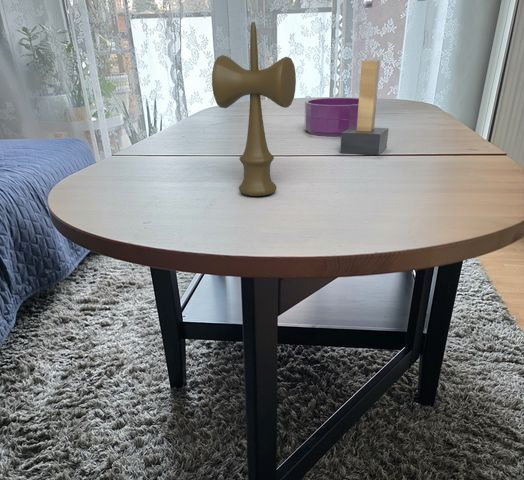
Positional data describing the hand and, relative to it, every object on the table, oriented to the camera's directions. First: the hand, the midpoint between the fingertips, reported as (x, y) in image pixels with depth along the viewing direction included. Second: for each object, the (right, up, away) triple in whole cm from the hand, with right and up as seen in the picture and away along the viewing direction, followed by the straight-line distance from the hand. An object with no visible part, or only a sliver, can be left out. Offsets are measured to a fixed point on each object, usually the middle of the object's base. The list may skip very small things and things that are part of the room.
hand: (394, 2), depth 90 cm
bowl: (-7, -13, +22) cm, 27 cm away
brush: (-5, -25, +3) cm, 26 cm away
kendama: (-24, -41, -20) cm, 51 cm away
